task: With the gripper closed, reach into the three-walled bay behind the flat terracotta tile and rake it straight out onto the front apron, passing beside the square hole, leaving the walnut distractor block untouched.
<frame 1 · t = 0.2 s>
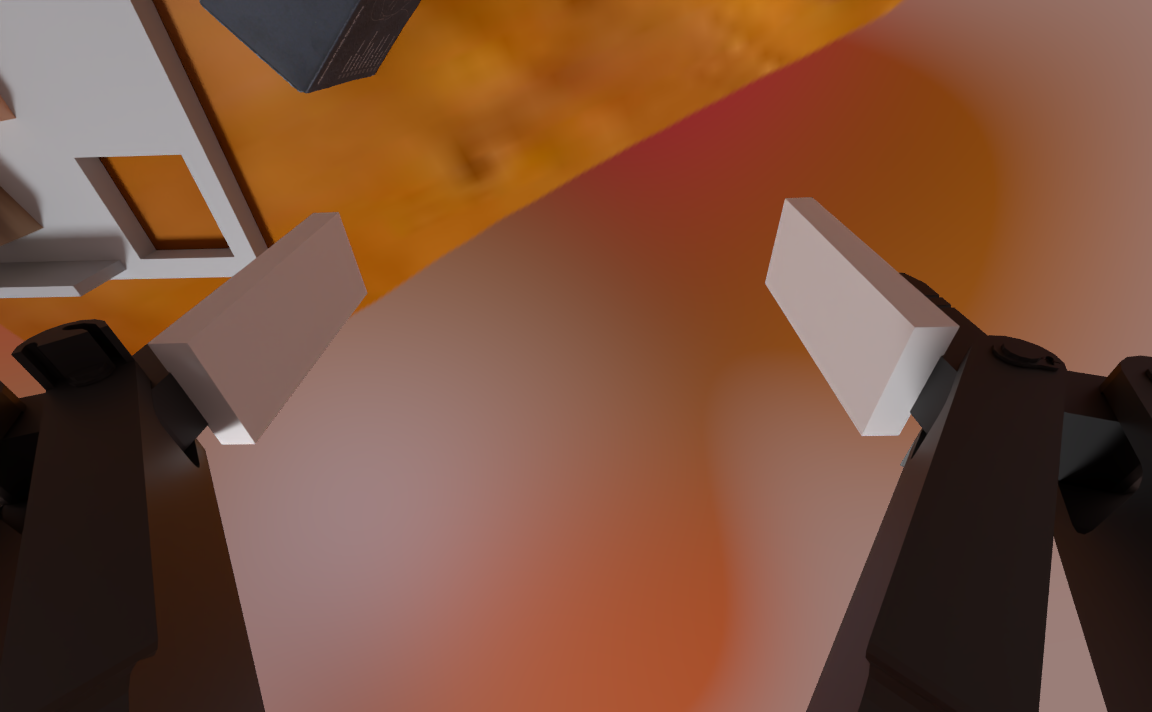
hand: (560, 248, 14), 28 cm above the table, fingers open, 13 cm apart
cubby deck: (43, 126, 38), on the table
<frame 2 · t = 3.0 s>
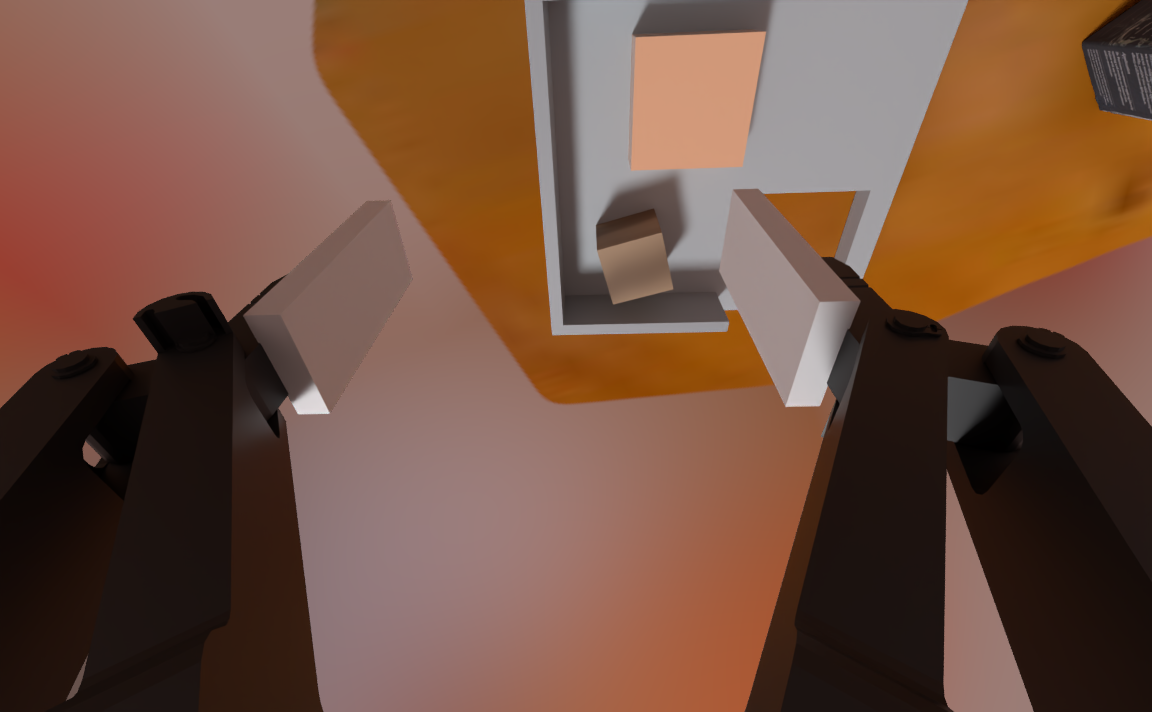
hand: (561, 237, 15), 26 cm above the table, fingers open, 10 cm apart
cubby deck: (717, 162, 38), on the table
terracotta tile: (685, 99, 34), point 2 cm above the table, touching cubby deck
walnut block: (631, 243, 40), point 2 cm above the table, touching cubby deck
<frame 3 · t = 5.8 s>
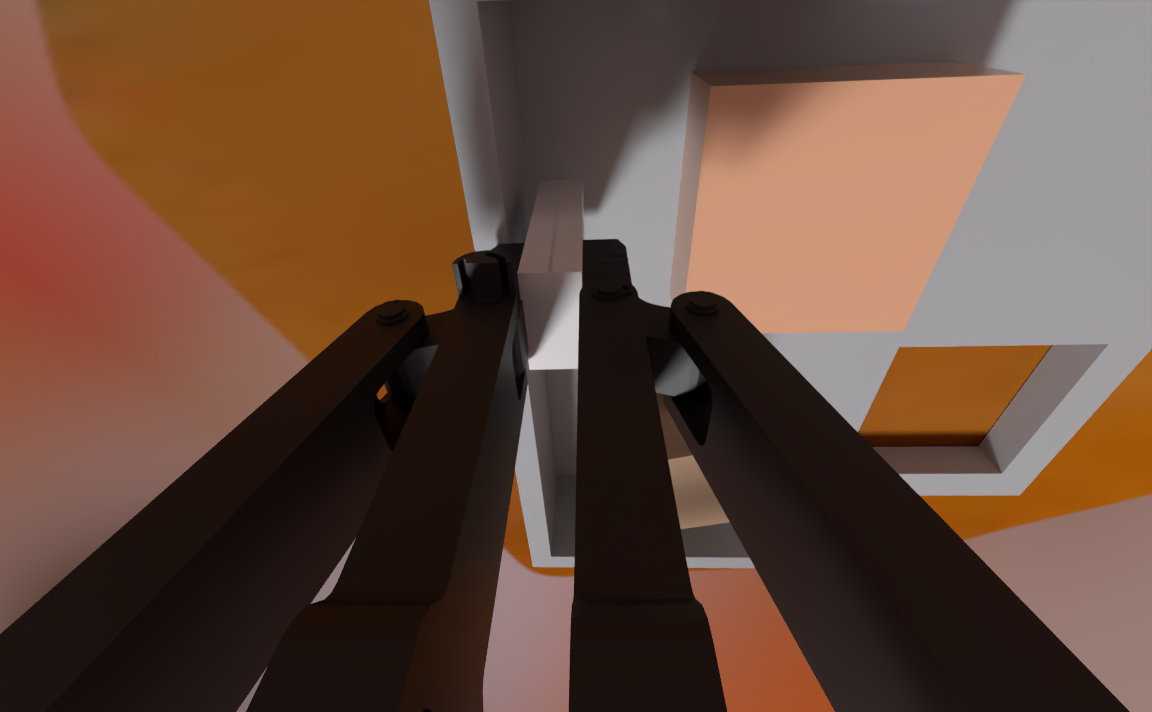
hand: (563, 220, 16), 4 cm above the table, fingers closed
cubby deck: (826, 287, 21), on the table
terracotta tile: (789, 195, 17), point 2 cm above the table, touching cubby deck
walnut block: (667, 412, 24), point 2 cm above the table, touching cubby deck
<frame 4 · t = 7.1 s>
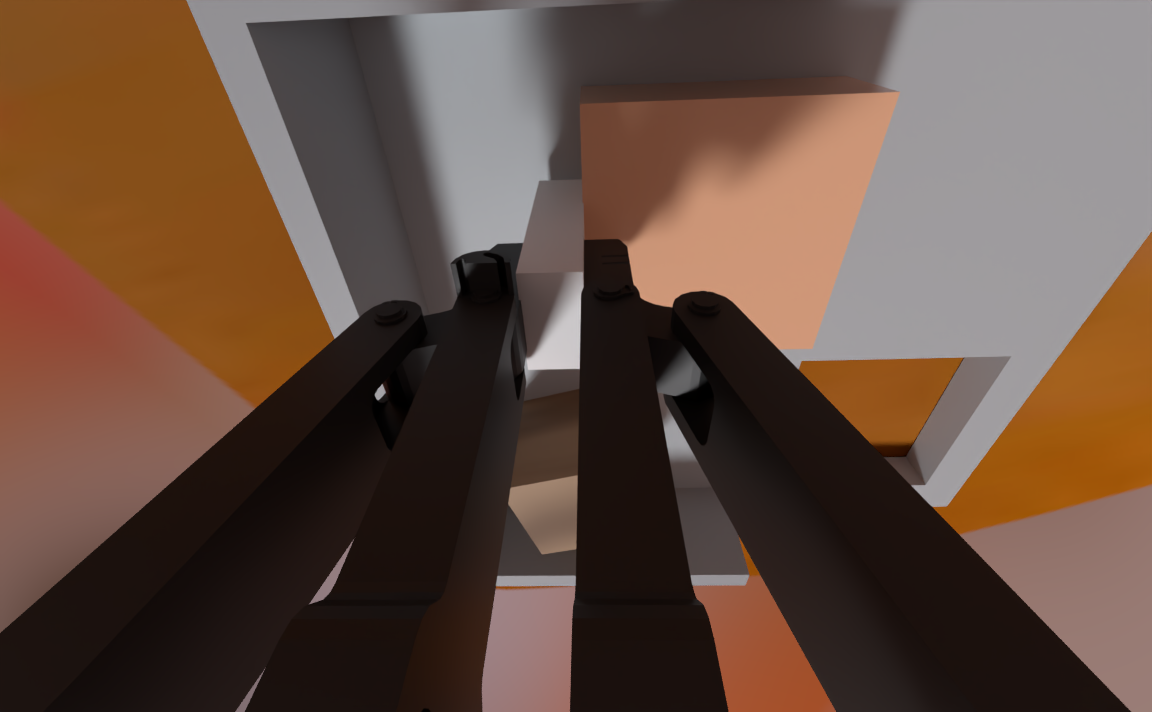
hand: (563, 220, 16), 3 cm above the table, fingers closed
cubby deck: (728, 300, 21), on the table
terracotta tile: (696, 210, 17), point 2 cm above the table, touching gripper
walnut block: (579, 427, 23), point 2 cm above the table, touching cubby deck
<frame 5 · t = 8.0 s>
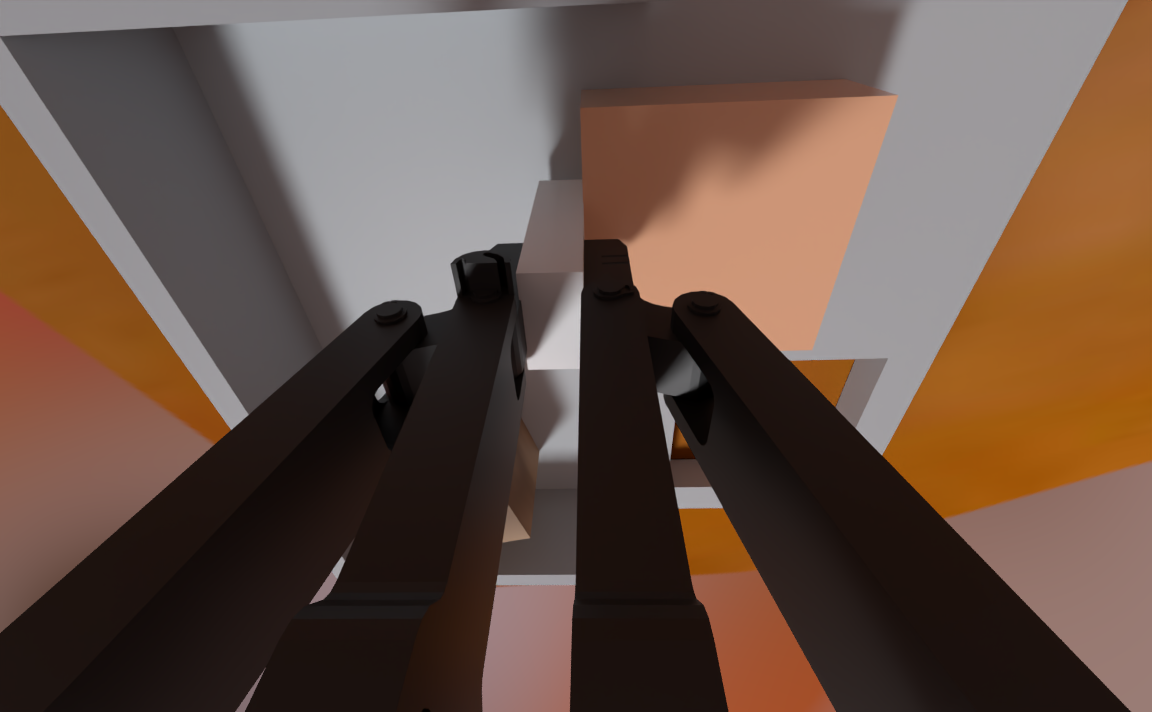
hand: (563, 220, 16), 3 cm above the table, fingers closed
cubby deck: (613, 302, 21), on the table
terracotta tile: (696, 212, 17), point 2 cm above the table, touching gripper
walnut block: (476, 428, 24), point 2 cm above the table, touching cubby deck
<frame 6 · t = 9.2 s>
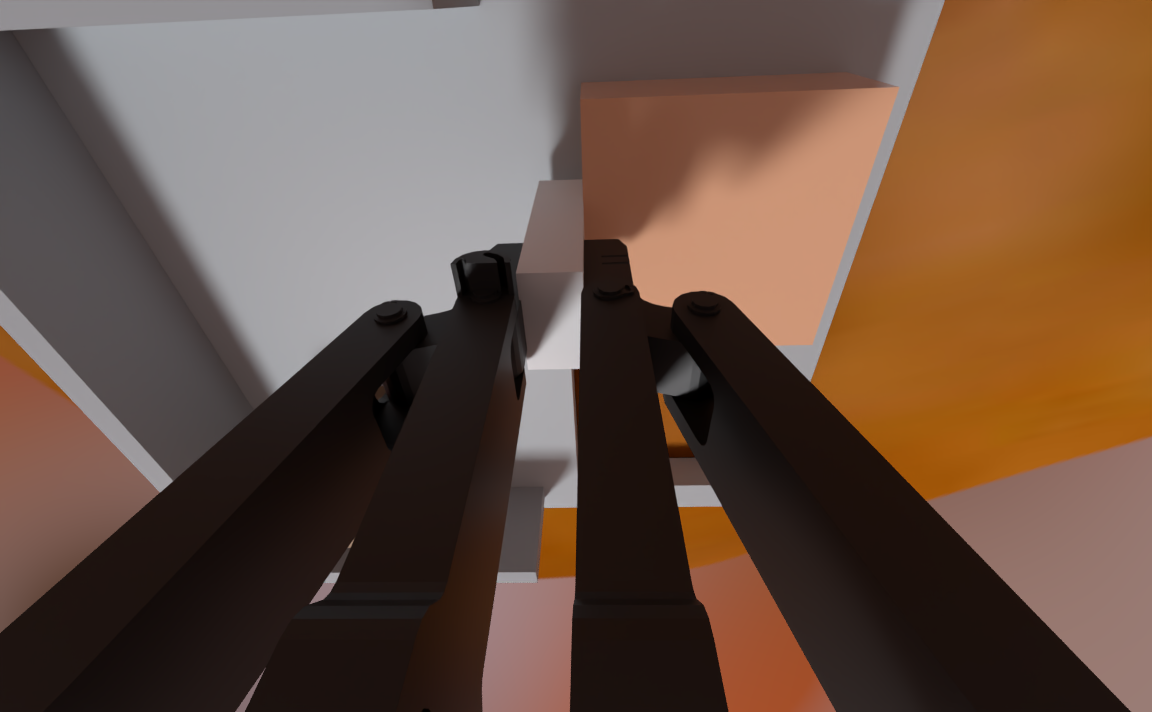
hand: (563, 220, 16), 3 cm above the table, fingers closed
cubby deck: (505, 303, 22), on the table
terracotta tile: (696, 207, 17), point 2 cm above the table, touching gripper
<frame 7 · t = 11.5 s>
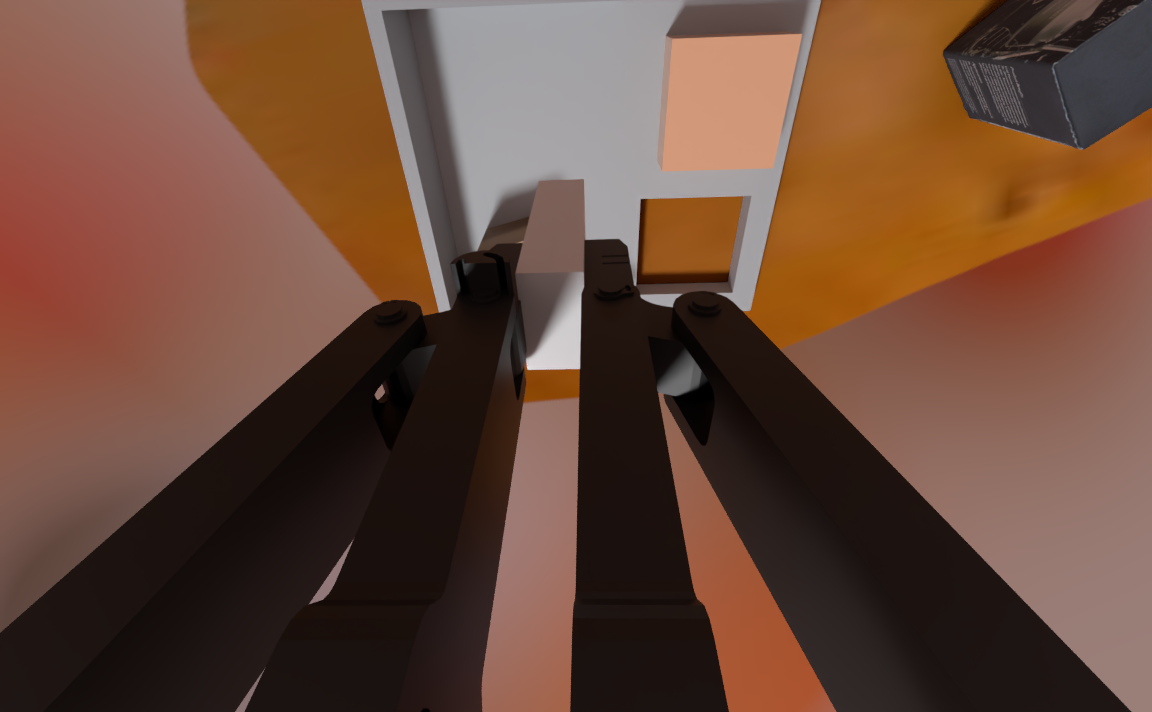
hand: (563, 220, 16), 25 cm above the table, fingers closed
cubby deck: (603, 167, 39), on the table
terracotta tile: (716, 100, 34), point 2 cm above the table, touching cubby deck
box: (1031, 26, 33), on the table
walnut block: (524, 247, 41), point 2 cm above the table, touching cubby deck
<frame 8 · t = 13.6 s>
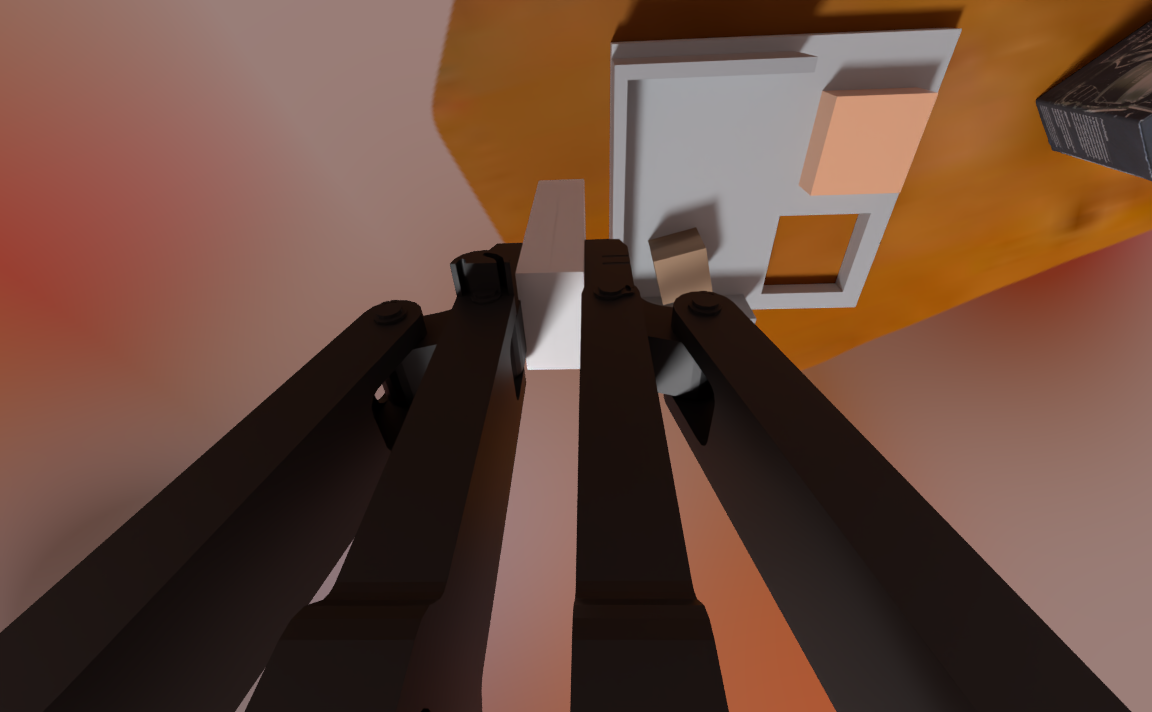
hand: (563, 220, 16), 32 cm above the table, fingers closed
cubby deck: (747, 190, 47), on the table
terracotta tile: (854, 139, 42), point 2 cm above the table, touching cubby deck
box: (1107, 80, 41), on the table
walnut block: (675, 255, 50), point 2 cm above the table, touching cubby deck
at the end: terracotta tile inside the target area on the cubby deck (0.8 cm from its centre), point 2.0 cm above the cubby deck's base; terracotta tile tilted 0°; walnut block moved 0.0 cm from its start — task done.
